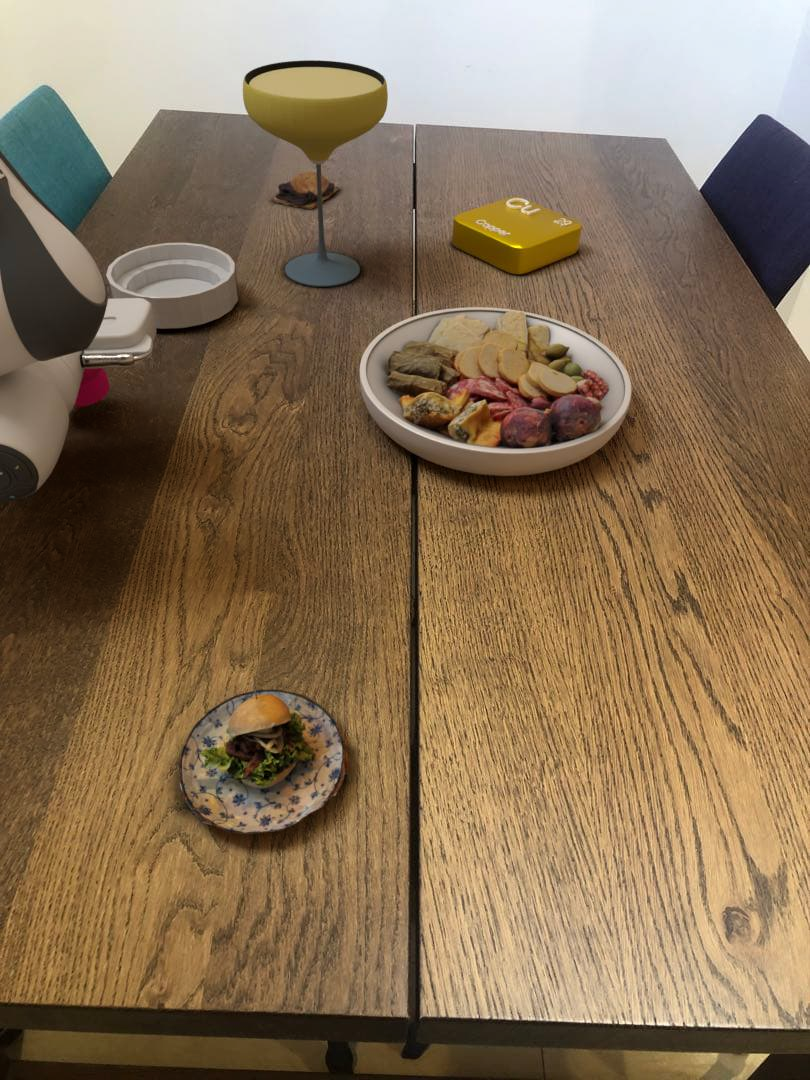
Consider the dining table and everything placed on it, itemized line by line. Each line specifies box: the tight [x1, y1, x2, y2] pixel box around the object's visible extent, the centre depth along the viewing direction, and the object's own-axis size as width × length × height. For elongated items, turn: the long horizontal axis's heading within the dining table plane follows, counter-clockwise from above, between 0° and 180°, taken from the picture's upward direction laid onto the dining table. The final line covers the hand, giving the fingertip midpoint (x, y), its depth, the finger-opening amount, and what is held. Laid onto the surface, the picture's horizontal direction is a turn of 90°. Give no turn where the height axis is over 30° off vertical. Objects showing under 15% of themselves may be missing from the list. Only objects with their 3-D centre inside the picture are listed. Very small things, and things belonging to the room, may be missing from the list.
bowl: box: [359, 306, 633, 477], centre depth 91 cm, size 30×30×8 cm
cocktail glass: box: [242, 59, 389, 288], centre depth 110 cm, size 18×18×25 cm
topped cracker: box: [272, 170, 339, 210], centre depth 138 cm, size 11×8×4 cm
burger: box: [178, 676, 349, 835], centre depth 57 cm, size 12×12×8 cm
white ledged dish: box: [105, 242, 239, 330], centre depth 108 cm, size 16×16×5 cm
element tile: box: [451, 195, 583, 276], centre depth 125 cm, size 15×15×5 cm
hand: (56, 293), depth 82 cm, fingers closed on pepper mill, 4 cm apart
